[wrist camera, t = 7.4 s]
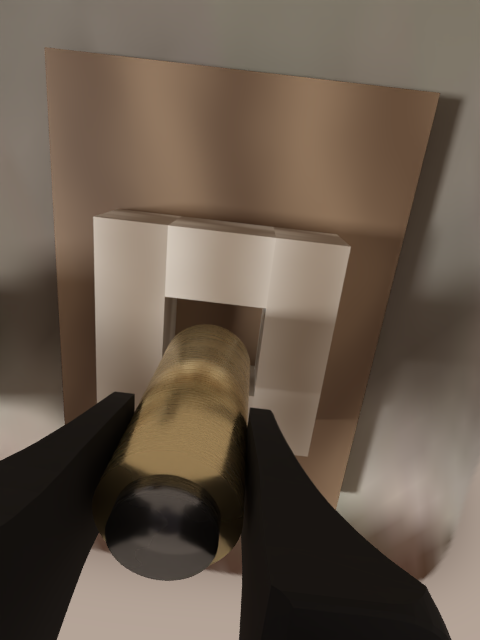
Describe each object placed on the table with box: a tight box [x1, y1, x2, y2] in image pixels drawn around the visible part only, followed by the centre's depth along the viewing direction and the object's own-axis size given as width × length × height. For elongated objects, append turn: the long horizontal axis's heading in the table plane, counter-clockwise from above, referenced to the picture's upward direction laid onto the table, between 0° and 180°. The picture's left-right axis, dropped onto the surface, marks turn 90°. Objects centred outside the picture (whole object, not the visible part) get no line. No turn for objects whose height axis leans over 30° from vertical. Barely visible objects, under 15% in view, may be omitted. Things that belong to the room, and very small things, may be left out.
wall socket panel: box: [45, 47, 440, 510], centre depth 20 cm, size 16×22×4 cm
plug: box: [92, 324, 250, 581], centre depth 12 cm, size 3×3×8 cm
